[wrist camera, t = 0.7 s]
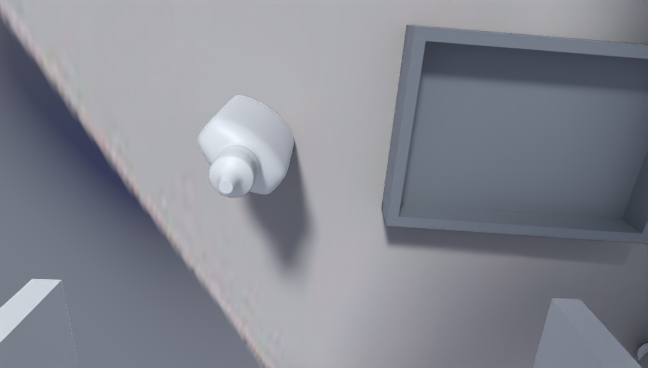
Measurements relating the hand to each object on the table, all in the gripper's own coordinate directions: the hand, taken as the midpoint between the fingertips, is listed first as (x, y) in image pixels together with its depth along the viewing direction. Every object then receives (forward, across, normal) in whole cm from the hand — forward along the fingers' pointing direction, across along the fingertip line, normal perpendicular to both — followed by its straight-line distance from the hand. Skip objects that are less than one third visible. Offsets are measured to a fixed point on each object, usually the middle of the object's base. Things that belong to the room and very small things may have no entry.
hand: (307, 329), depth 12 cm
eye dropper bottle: (+23, -4, 0) cm, 23 cm away
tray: (+22, +16, 0) cm, 27 cm away
